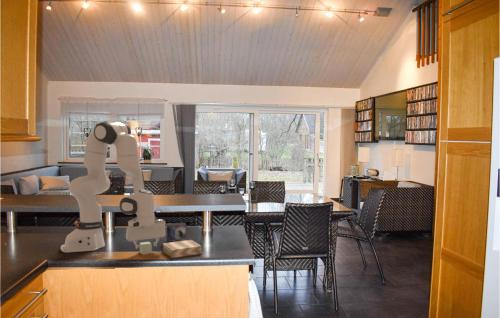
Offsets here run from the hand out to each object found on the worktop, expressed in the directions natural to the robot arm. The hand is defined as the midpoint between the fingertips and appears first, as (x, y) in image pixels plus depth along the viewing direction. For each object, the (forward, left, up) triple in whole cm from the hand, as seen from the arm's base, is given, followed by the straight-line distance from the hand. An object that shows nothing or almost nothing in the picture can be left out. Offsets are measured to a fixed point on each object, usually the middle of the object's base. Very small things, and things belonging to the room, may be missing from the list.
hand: (146, 247), depth 220 cm
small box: (+21, +12, -3) cm, 24 cm away
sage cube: (0, 0, -3) cm, 3 cm away
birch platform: (+17, -8, -3) cm, 19 cm away
